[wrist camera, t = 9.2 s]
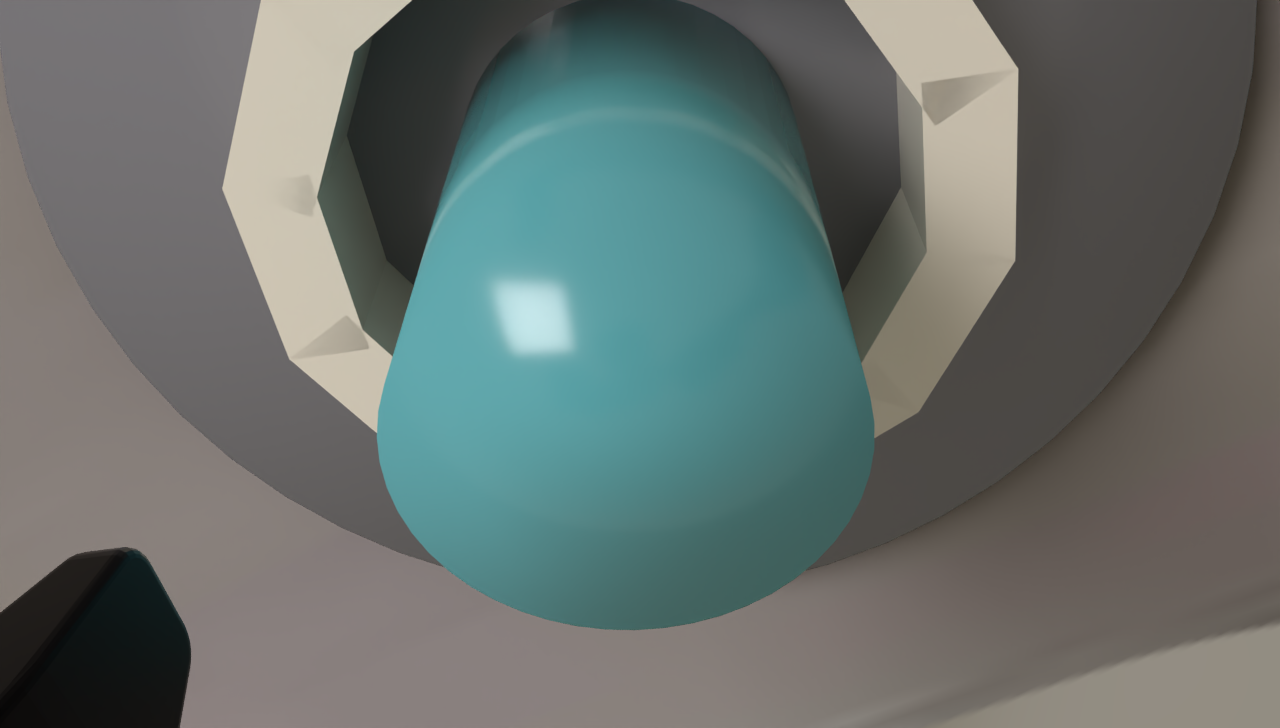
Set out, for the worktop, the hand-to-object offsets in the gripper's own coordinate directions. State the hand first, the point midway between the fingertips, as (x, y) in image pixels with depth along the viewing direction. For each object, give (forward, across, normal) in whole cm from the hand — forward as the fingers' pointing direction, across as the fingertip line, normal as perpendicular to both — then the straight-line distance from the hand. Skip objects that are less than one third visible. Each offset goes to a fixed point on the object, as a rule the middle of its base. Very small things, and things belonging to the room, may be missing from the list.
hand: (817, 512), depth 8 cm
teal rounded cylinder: (+11, +2, +2) cm, 11 cm away
